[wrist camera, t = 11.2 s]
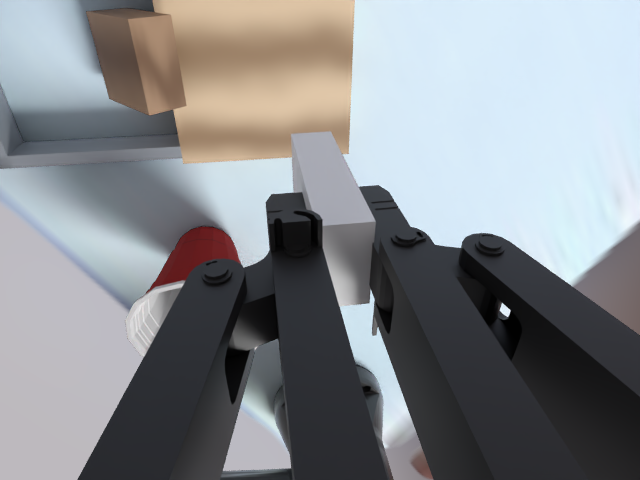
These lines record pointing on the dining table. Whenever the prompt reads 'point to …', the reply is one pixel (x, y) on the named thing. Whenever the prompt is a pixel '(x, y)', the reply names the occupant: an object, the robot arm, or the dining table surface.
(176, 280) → the plastic cup
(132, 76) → the brown square block
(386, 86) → the dining table surface
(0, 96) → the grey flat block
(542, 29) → the dining table surface
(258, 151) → the board
